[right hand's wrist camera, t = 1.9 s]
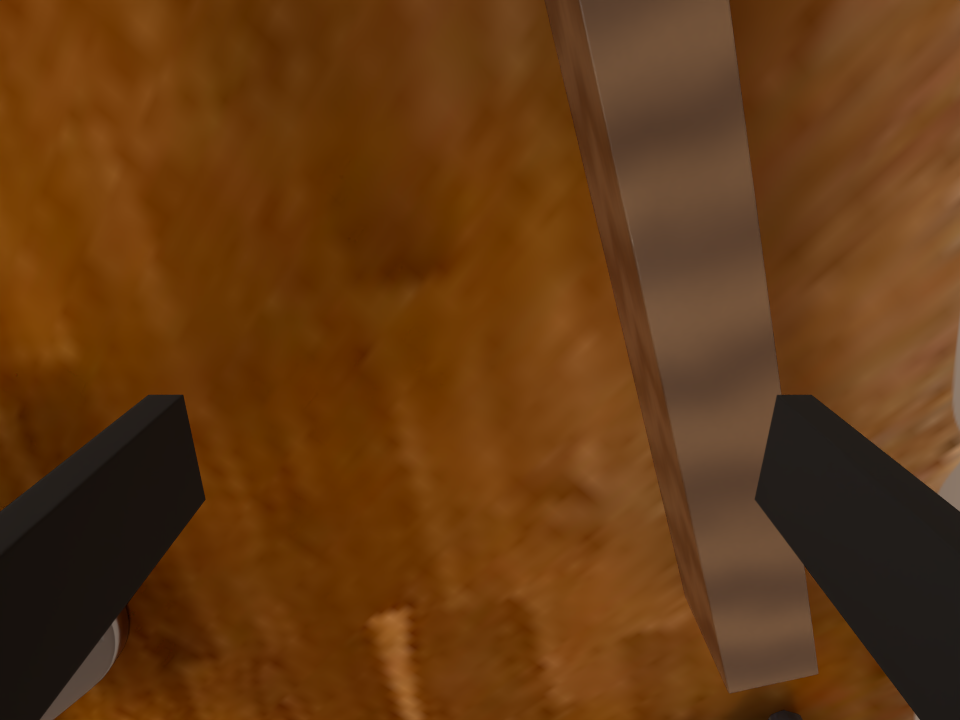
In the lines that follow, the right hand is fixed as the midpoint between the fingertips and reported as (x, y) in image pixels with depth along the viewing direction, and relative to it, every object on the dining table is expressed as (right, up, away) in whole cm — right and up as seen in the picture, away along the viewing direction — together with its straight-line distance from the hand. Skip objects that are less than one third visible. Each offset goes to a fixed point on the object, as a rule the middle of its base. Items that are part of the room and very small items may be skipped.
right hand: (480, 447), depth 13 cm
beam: (+10, +9, +19) cm, 23 cm away
